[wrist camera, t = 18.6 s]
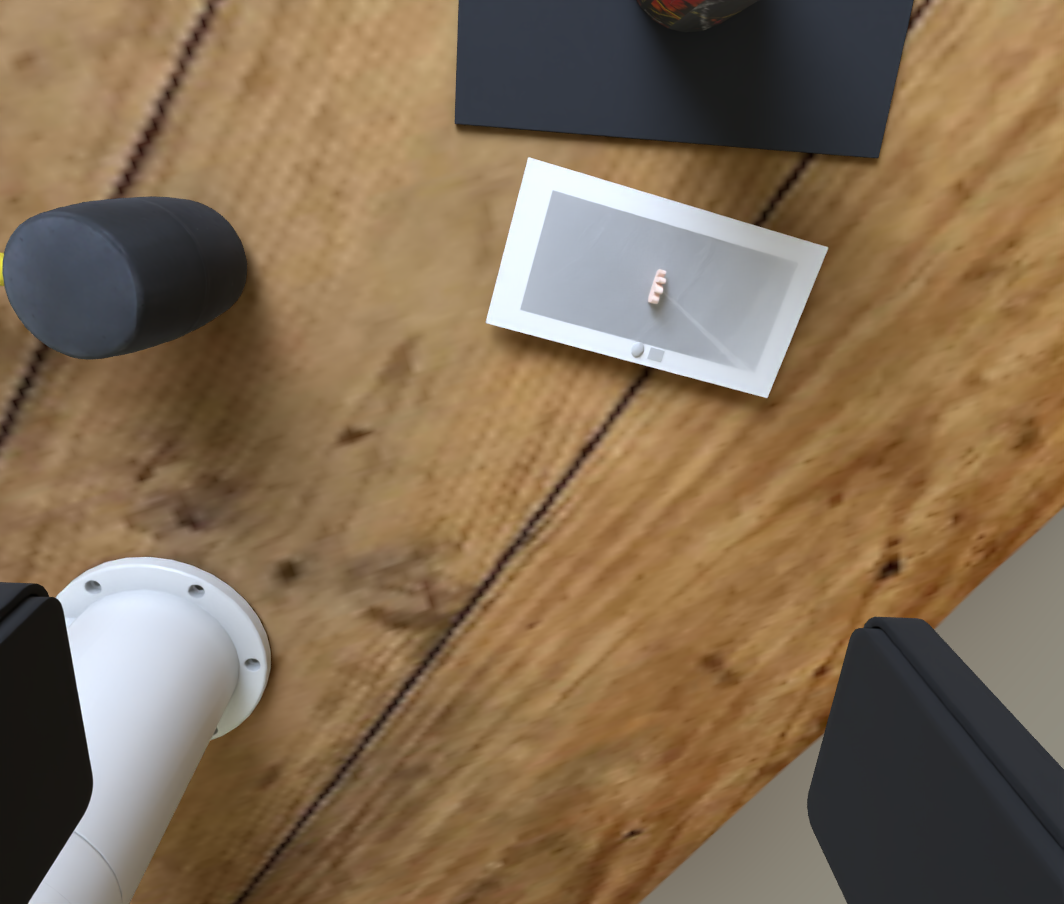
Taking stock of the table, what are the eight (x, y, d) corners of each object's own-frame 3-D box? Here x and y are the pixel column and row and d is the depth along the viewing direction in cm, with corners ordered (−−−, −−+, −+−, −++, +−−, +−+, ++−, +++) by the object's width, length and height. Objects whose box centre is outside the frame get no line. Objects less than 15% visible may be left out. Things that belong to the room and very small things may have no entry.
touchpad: (527, 157, 35) (529, 157, 33) (819, 244, 37) (837, 250, 35) (485, 318, 38) (485, 327, 36) (760, 392, 40) (774, 404, 38)
